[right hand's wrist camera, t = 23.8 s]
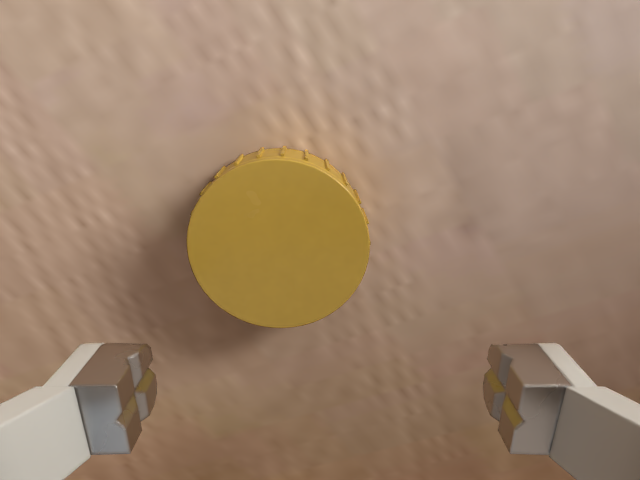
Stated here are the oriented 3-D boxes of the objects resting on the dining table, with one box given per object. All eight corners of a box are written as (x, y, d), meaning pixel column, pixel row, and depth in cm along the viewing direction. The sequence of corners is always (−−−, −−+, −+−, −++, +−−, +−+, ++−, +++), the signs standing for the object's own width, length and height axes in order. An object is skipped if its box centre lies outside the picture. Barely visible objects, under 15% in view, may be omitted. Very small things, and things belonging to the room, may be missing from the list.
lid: (343, 124, 13) (349, 133, 12) (379, 280, 15) (388, 307, 14) (173, 170, 14) (154, 185, 12) (230, 317, 16) (220, 347, 14)
